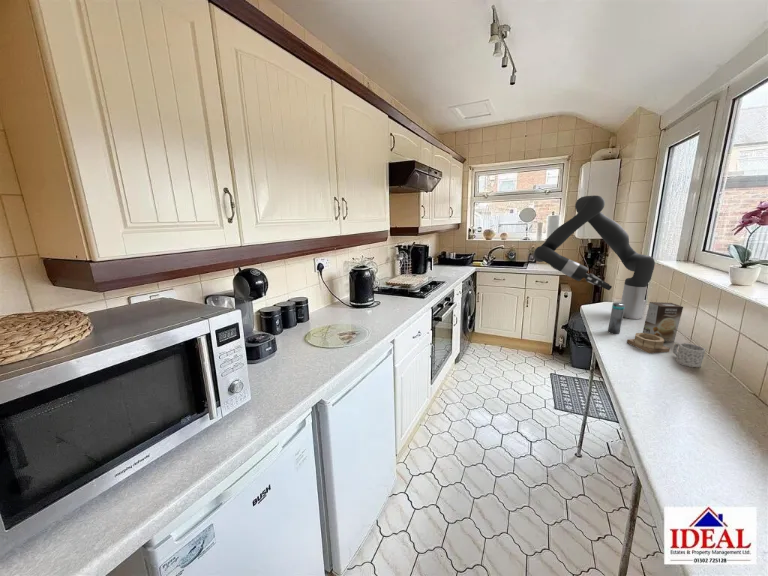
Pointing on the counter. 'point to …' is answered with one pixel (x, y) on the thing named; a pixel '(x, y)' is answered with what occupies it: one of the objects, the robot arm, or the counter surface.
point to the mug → (689, 354)
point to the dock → (649, 350)
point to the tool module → (616, 317)
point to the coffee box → (663, 320)
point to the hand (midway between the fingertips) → (609, 287)
